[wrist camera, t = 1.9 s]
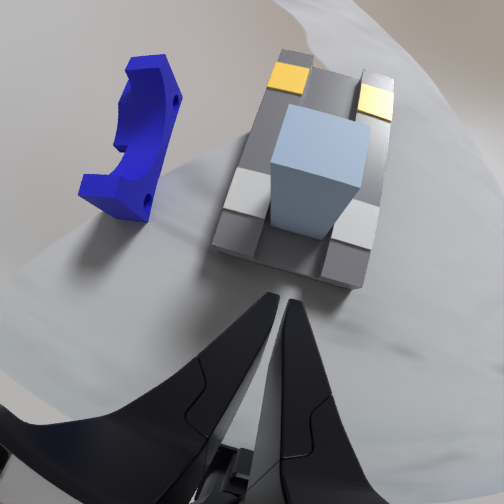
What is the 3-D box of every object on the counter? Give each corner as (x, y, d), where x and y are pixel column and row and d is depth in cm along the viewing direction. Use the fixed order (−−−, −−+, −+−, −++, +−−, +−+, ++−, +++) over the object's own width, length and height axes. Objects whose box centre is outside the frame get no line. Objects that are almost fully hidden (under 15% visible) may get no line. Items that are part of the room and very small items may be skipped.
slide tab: (321, 240, 21) (360, 188, 11) (270, 225, 21) (270, 162, 12) (331, 200, 21) (370, 126, 12) (282, 186, 22) (289, 103, 12)
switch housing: (352, 289, 21) (362, 287, 19) (217, 251, 22) (211, 243, 20) (385, 95, 24) (394, 78, 21) (281, 67, 25) (282, 47, 22)
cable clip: (139, 98, 26) (115, 59, 20) (182, 97, 25) (165, 54, 19) (102, 217, 24) (61, 194, 18) (148, 222, 23) (114, 197, 18)
